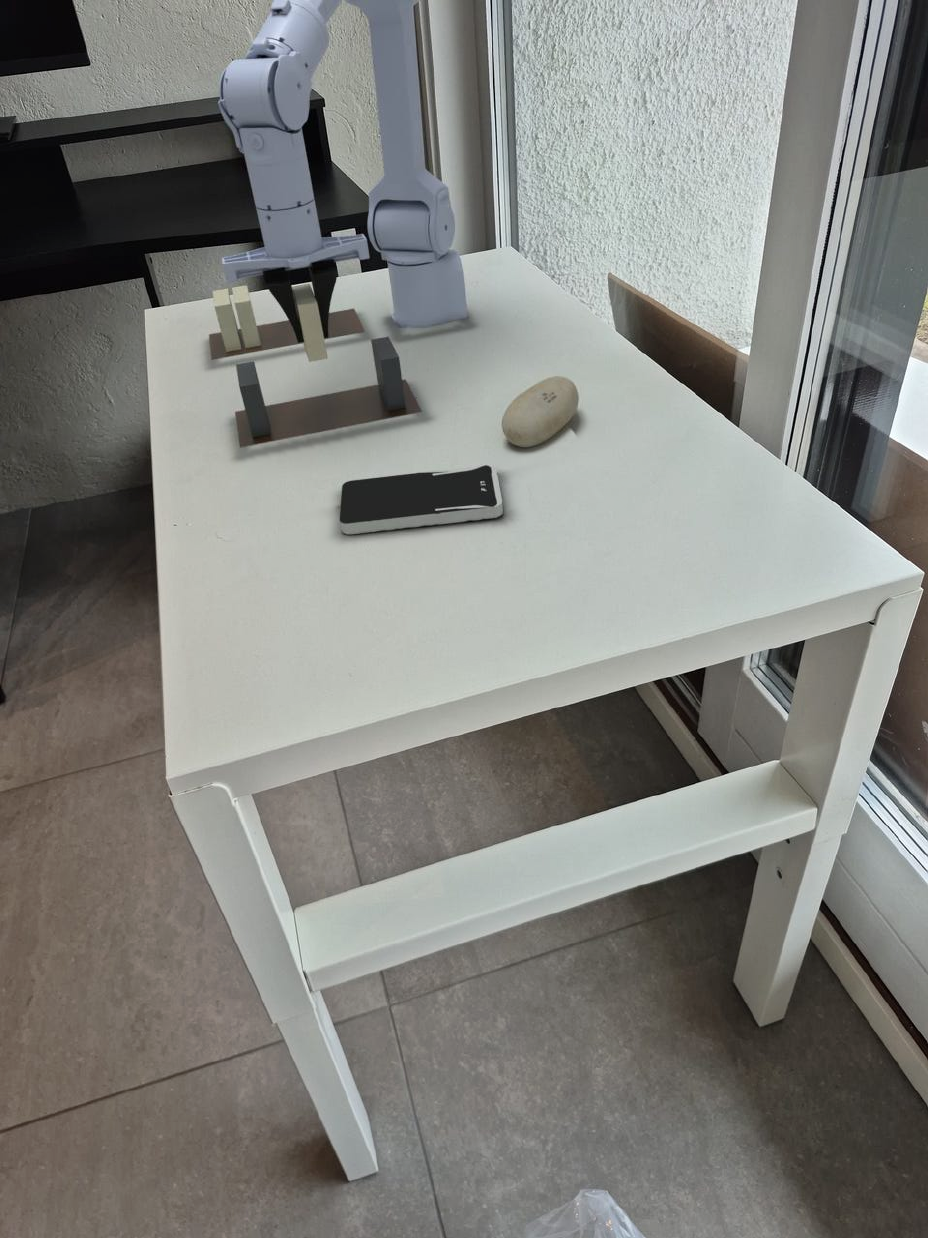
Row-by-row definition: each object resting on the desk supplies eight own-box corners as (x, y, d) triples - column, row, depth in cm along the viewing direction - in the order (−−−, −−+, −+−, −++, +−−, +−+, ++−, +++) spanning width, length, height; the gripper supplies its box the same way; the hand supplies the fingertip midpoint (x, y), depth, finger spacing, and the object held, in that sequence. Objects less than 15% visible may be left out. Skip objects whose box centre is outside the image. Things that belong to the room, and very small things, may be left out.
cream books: (257, 329, 121) (247, 284, 118) (261, 345, 117) (250, 299, 113) (224, 335, 121) (212, 290, 117) (226, 352, 116) (214, 306, 112)
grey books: (395, 386, 104) (388, 335, 100) (406, 408, 100) (399, 356, 96) (248, 414, 102) (235, 364, 98) (252, 438, 97) (239, 386, 93)
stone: (594, 385, 96) (562, 404, 86) (571, 438, 99) (537, 463, 89) (546, 362, 97) (509, 378, 87) (525, 415, 100) (486, 437, 90)
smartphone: (342, 481, 88) (495, 463, 88) (345, 493, 89) (496, 475, 89) (339, 524, 82) (502, 505, 82) (341, 536, 83) (503, 518, 83)
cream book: (320, 337, 100) (309, 283, 96) (327, 358, 95) (317, 302, 91) (302, 341, 99) (291, 286, 95) (309, 362, 95) (297, 305, 91)
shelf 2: (406, 386, 106) (405, 378, 105) (423, 419, 99) (422, 411, 99) (236, 419, 103) (234, 411, 103) (241, 455, 96) (239, 447, 96)
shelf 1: (355, 315, 125) (354, 308, 125) (366, 338, 118) (365, 331, 118) (210, 341, 122) (208, 334, 122) (213, 366, 115) (211, 359, 115)
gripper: (211, 225, 84) (247, 363, 92) (365, 199, 86) (385, 338, 94) (208, 205, 89) (242, 338, 98) (353, 182, 91) (373, 314, 100)
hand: (312, 336), depth 96 cm, fingers closed on cream book, 2 cm apart
